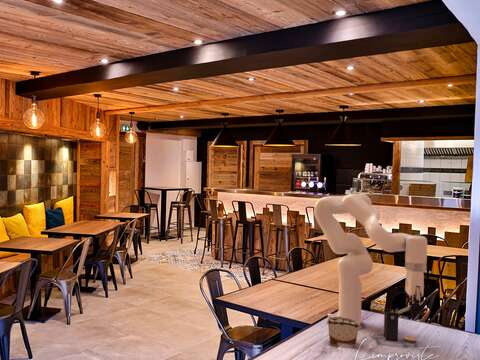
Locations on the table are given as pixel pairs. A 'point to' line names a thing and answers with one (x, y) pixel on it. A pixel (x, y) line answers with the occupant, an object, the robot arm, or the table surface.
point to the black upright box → (390, 325)
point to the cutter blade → (403, 310)
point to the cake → (409, 339)
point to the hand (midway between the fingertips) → (414, 311)
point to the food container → (342, 330)
